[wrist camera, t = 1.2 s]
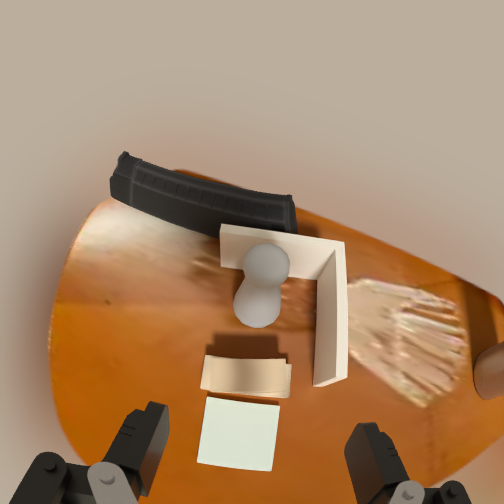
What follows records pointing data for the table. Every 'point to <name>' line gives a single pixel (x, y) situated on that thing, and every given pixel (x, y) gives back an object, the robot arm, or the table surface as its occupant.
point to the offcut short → (248, 375)
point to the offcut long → (206, 385)
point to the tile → (238, 434)
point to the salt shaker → (261, 285)
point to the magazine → (198, 200)
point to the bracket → (308, 267)
